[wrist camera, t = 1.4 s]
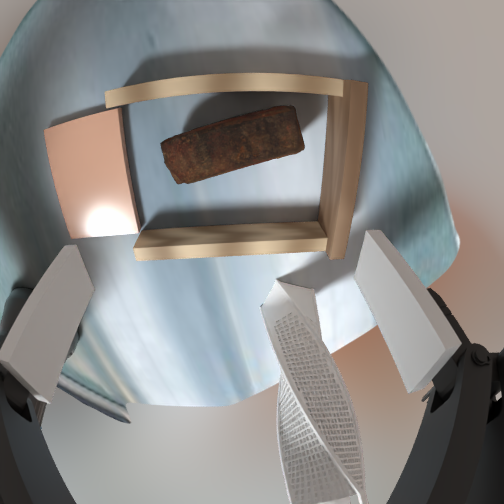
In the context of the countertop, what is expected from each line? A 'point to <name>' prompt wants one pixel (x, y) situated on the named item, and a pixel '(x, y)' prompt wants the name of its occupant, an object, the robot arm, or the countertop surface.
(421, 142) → the countertop surface
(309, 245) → the channel
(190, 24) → the countertop surface
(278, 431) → the skyscraper
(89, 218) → the tile
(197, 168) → the brick
